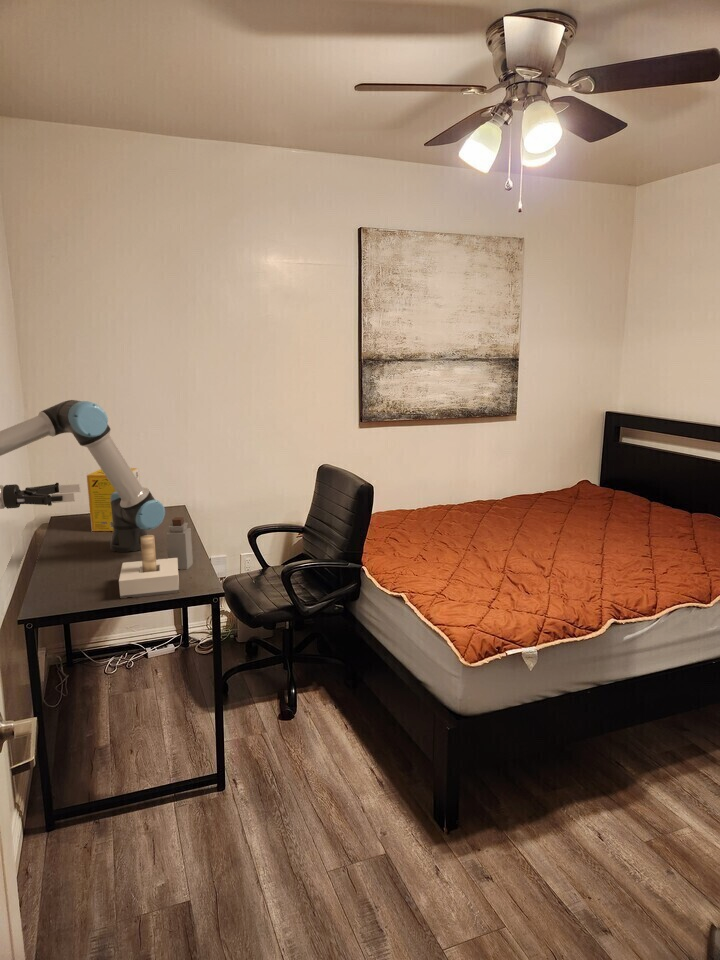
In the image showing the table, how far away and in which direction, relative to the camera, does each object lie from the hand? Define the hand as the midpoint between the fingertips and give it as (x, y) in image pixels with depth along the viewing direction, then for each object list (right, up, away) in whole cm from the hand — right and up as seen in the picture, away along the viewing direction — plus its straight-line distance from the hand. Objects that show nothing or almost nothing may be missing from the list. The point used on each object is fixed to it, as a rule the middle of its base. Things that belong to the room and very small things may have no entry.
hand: (77, 492), depth 207 cm
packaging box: (-16, -17, +76) cm, 79 cm away
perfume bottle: (+27, -28, +24) cm, 46 cm away
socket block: (+22, -31, +6) cm, 39 cm away
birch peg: (+22, -30, +5) cm, 38 cm away
